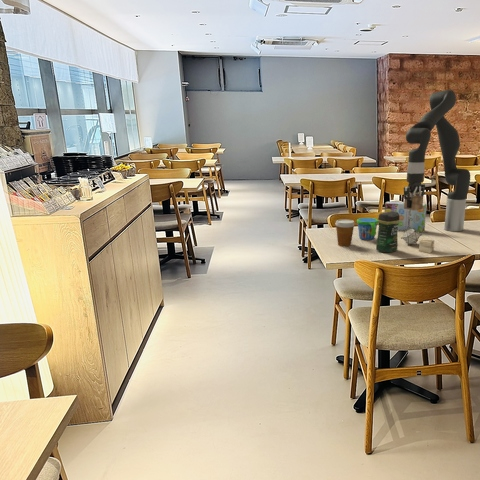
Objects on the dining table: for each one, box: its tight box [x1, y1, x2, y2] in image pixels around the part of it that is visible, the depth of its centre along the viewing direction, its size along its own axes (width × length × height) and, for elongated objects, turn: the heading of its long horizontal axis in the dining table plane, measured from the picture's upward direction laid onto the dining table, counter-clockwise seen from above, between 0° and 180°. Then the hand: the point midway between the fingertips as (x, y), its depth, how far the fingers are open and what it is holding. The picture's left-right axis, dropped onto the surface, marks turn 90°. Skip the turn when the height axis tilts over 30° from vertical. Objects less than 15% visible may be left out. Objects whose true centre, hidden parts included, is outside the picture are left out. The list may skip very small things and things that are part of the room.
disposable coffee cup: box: [334, 218, 356, 247], centre depth 215 cm, size 10×10×12 cm
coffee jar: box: [375, 211, 399, 254], centre depth 202 cm, size 10×8×19 cm
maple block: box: [418, 238, 435, 254], centre depth 201 cm, size 5×5×5 cm
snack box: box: [383, 201, 428, 233], centre depth 240 cm, size 21×6×15 cm, turn 58°
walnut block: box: [403, 195, 424, 210], centre depth 208 cm, size 6×6×6 cm
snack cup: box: [356, 217, 379, 241], centre depth 225 cm, size 16×10×10 cm
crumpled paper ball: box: [400, 228, 422, 247], centre depth 212 cm, size 9×8×10 cm
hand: (413, 206), depth 208 cm, fingers closed on walnut block, 6 cm apart
